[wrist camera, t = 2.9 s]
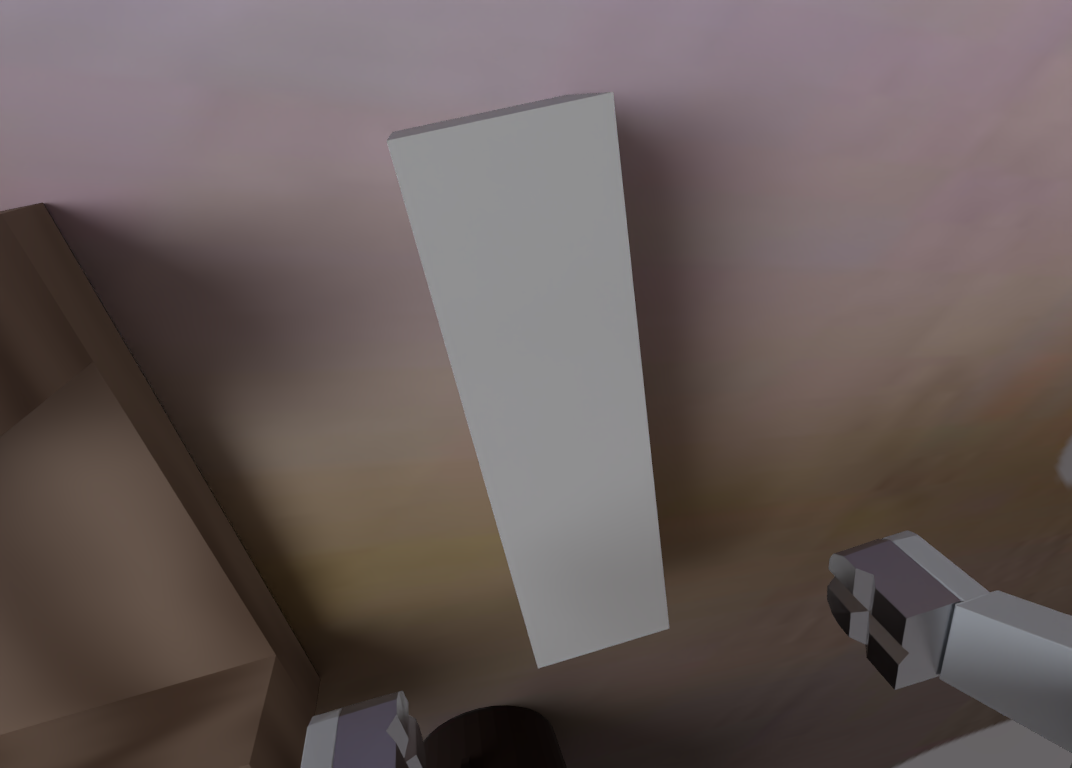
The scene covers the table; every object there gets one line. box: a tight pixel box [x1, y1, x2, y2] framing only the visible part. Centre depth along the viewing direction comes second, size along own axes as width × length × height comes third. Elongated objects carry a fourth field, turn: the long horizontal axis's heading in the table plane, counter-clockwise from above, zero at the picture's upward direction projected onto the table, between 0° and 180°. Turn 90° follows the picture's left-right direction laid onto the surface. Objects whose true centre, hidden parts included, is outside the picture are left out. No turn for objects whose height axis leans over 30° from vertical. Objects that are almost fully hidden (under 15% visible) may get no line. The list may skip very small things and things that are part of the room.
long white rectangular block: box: [387, 92, 669, 668], centre depth 16 cm, size 4×16×4 cm, turn 11°
